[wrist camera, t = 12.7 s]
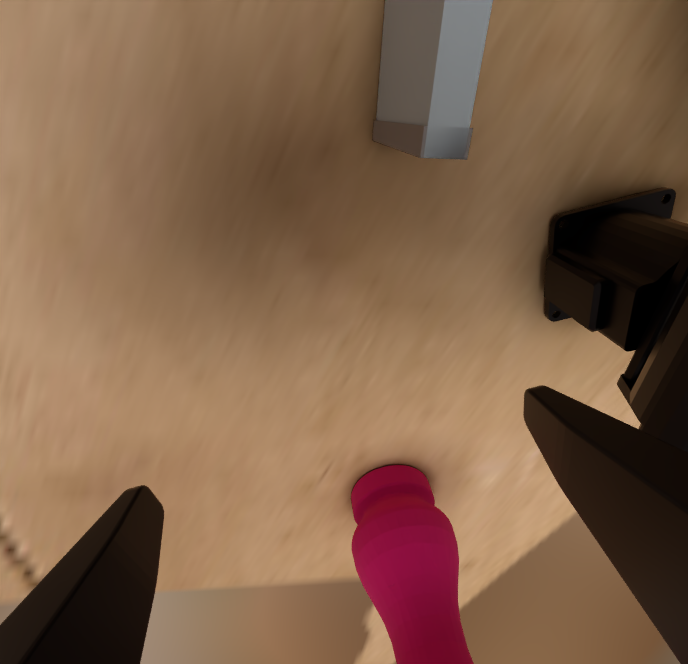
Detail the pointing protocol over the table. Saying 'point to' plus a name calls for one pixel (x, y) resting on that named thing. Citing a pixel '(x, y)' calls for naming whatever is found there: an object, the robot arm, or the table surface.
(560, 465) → the robot arm
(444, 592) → the pepper mill
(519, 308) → the table surface
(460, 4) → the grey thin rectangular panel
